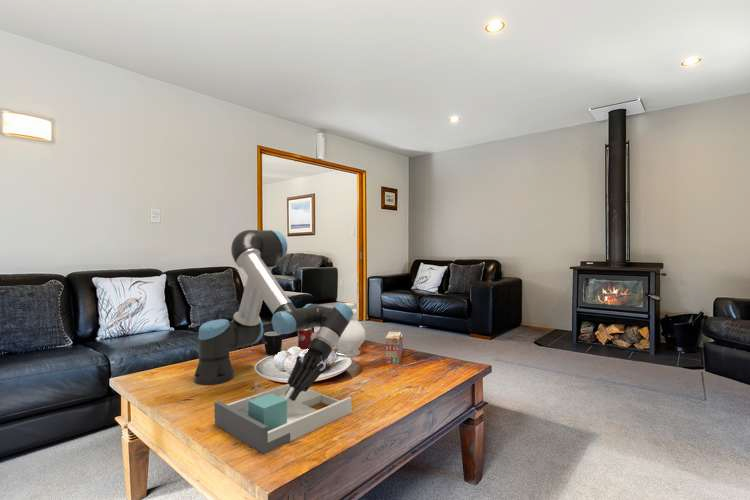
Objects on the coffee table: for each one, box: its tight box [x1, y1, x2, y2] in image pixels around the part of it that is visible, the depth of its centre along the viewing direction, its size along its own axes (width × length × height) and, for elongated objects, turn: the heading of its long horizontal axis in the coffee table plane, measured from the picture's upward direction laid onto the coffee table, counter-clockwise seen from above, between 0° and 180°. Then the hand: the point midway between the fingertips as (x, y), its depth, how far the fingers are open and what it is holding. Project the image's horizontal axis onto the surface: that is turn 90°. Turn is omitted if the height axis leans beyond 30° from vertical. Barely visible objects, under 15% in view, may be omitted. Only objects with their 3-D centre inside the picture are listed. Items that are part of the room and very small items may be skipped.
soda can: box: [297, 328, 313, 349], centre depth 203 cm, size 7×7×12 cm
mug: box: [263, 331, 283, 356], centre depth 199 cm, size 12×9×10 cm
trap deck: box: [214, 383, 353, 455], centre depth 127 cm, size 34×26×7 cm
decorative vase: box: [335, 302, 366, 357], centre depth 201 cm, size 18×18×25 cm
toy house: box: [385, 331, 404, 365], centre depth 195 cm, size 21×6×12 cm, turn 171°
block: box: [248, 393, 287, 431], centre depth 118 cm, size 8×8×7 cm
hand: (283, 408), depth 122 cm, fingers closed
